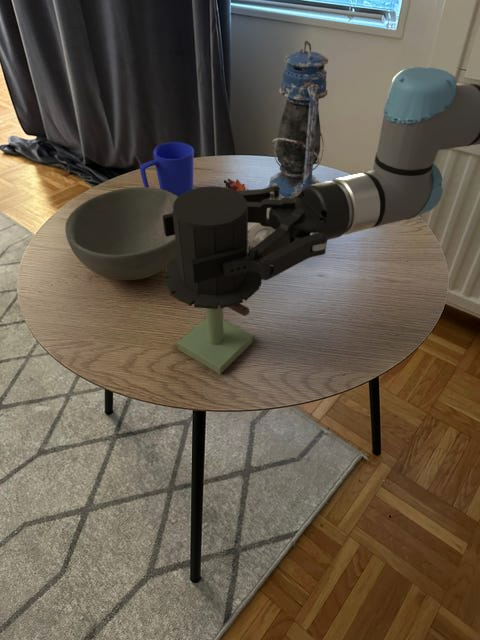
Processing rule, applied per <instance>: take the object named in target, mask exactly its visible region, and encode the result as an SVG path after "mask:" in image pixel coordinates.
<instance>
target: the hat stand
mask: <svg viewBox="0 0 480 640" xmlns="http://www.w3.org/2000/svg"><path fill="white" fill-rule="evenodd" d="M227 308H228V309H230V310H231V311H234V312H236V313H237V314H240V315H242V316H245V317H246V316H248V315H249V314H250V309H249V307H248V306H246V305H244V304H243V303H240V304H236V305H233V306H229V307H227ZM253 342H254V335H253V334H252V333H250V332H248V331H246V330H245V329H242V328H241V327H238V326H237V325H236V324H235V325H234V324H233V323H231V322H229V321H227V320H225V319H224V308H222V309H221V307H220V306H219V305H218V309H209V308H205V318H204V319H203V320H202V321H200V323H199V324H198V325H196V326H195V327H194V328H193V329H191V330H190V331H189V332H188V333H187V334H186V335H185V336H183V338H181V339H180V340H179V341H177V350H178V351H180V352H182V353H184V354H185V355H187V356H189V357H190V358H191V359H193V360H195V361H197V362H199V363H200V364H202V365H204V366H205V367H207V368H209V369H210V370H212V371H214V372H216V373H217V374H219V375H221V374H222V373H223V372H224V371H226V369H227V368H228V367H230V365H231V364H232V363H233V362H235V360H236V359H237V358H239V356H240V355H242V353H244V352H245V350H246V349H248V348H249V346H250V345H251V344H253Z"/></svg>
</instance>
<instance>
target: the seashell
mask: <svg viewBox="0 0 480 640" xmlns="http://www.w3.org/2000/svg"><path fill="white" fill-rule="evenodd" d="M269 211H270V208H267V218H268V219H269ZM274 231H275V229H273V228H272V227H265V226H262V225H261V224H260V223H248V247H247V252H249V246H250V249H251V246H252V247H255V246H256V245H258V244H259V243H260V242H261V241H263V240H264V239H265V238H266V237H268V236H269V235H270V234H272V233H273V232H274Z"/></svg>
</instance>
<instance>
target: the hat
mask: <svg viewBox="0 0 480 640" xmlns="http://www.w3.org/2000/svg"><path fill="white" fill-rule="evenodd" d="M172 213H173V222H174V231H175V240H176V249H177V257H175V258H174V259H173V260H171V263H169V264H168V267H167V268H165V273H164V275H163V282H164V284H165V286H166V288H167V290H168V292H169V295H170V296H172V297H173V298H174V299H176V300H178V301H180V302H181V303H184V304H186V305H187V306H189V307H192V306H193V307H194V308H197V309H206V308H209V309H218V305H219V306H220V307H221V309H222V308H223V309H226V308H228V307H229V306H233V305H236V304H243V303H244V301H246V302H247V301H248V300H249V299H250V298H251V297H252V296H253V295H254V294H255V293H256V292H258V291H259V290H260V287H261V286H262V281H263V280H262V279H260V275H259V274H258V273H256V272H255V273H252V272H249V271H247V272H243V273H240V274H236V275H232V276H224V275H223V276H219V277H216V278H212V279H208V280H205V281H201V282H198V283H194V282H193V280H192V271H191V261H192V260H196V259H199V258H203V257H207V256H211V255H215V254H219V253H223V252H226V251H230V250H234V249H238V248H242V247H244V248H245V250H246V255H248V252H247V247H248V206H247V202H246V199H245V198H244V197H243V196H242V195H241V194H240V193H238V192H236V191H234V190H231V189H229V188H227V187H223V186H201V187H196V188H193V189H192V190H189V191H187V192H185V193H183V194H181V195H180V196H179V197H178V198H177V199H176V200H175V202H174V204H173V212H172Z"/></svg>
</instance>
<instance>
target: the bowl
mask: <svg viewBox="0 0 480 640" xmlns="http://www.w3.org/2000/svg"><path fill="white" fill-rule="evenodd" d="M177 198H178V196H176V195H174V194H172V193H170V192H168V191H166V190H162V189H160V188H158V187H151V186H149V187H144V186H137V187H136V186H135V187H126V188H119V189H115V190H111V191H107V192H104V193H101V194H99V195H96V196H93V197H92V198H90V199H88V200H86V201H84V202H83V203H81V204H80V205H79V206H77V207H76V208H75V209H74V210H73V211H72V212H71V213H70V214H69V216H68V217H67V219H66V221H65V225H64V226H65V227H64V228H65V229H64V230H65V235H66V236H65V237H66V240H67V242H68V245H69V247H70V249H71V251H72V253H73V254H74V256H76V258H77V259H78V260H79V262H80V263H81V264H82V265H84V266H85V267H86V268H87V269H89V270H90V271H92V272H93V273H95V274H97V275H99V276H101V277H105V278H108V279H112V280H119V281H135V280H136V281H137V280H142V279H145V278H149V277H152V276H154V275H157V274H158V273H160V272H162V271H164V270H166V269H167V267H168V264H169V263H171V260H173V259H174V258H175V257H177V249H176V240H175V235H171V236H167V237H166V235H165V233H164V224H163V216H162V215H167V214H171V213H172V212H173V204H174V202H175V200H176V199H177Z"/></svg>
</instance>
